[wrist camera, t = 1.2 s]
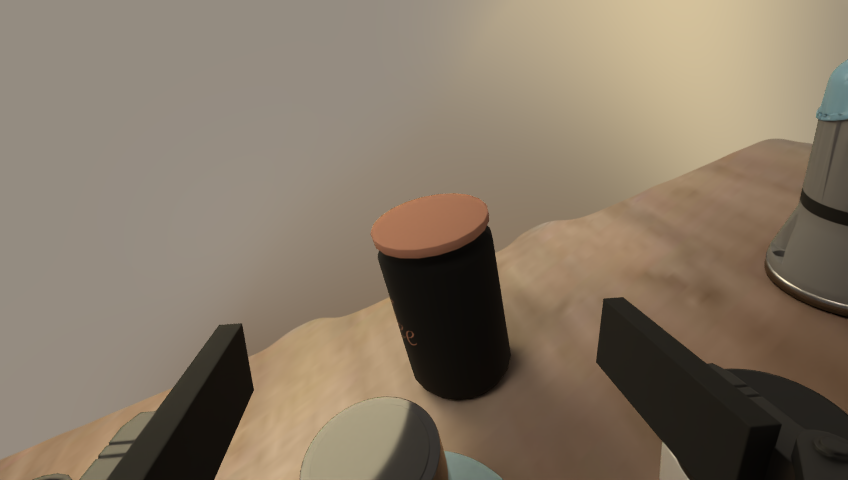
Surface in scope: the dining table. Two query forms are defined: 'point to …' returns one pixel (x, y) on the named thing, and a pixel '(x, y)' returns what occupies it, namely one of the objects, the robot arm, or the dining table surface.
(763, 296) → the dining table surface
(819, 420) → the jar
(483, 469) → the saucer
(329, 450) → the dark glossy canister
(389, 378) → the dining table surface
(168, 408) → the robot arm
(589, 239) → the dining table surface
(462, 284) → the coffee jar
